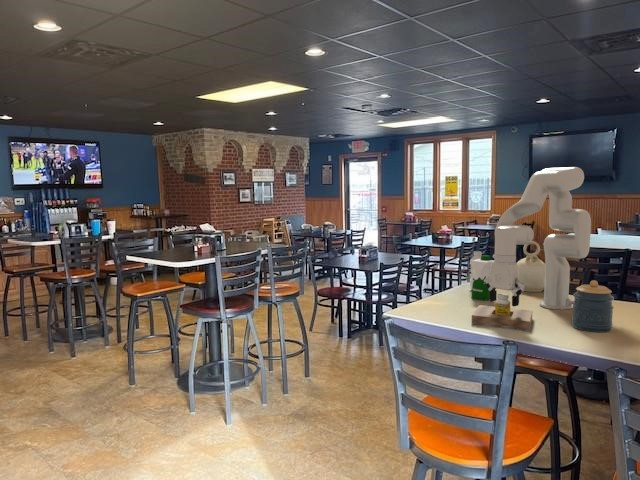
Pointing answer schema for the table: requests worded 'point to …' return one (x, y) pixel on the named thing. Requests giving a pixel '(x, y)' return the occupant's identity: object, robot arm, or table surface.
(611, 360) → the table surface
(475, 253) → the plastic bottle
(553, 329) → the table surface
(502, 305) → the supplement bottle
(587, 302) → the canister
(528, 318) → the socket block
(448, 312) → the table surface
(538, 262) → the jug
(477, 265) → the milk carton
